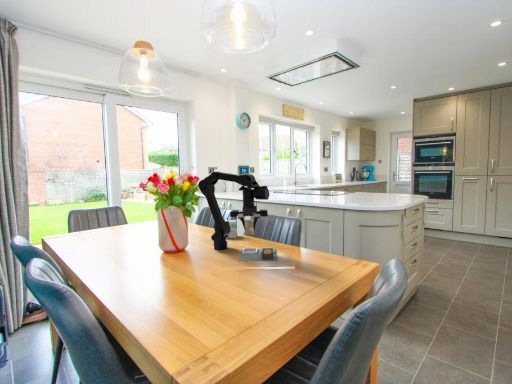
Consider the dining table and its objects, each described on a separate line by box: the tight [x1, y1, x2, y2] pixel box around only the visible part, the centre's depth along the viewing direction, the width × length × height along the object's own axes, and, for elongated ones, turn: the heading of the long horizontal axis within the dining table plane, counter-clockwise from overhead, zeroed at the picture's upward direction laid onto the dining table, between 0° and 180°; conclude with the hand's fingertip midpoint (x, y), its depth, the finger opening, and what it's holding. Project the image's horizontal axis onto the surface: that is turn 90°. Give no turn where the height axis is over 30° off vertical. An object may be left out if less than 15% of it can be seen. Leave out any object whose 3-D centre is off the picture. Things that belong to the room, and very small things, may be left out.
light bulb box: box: [224, 219, 238, 239], centre depth 168 cm, size 11×7×11 cm, turn 84°
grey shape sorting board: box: [238, 247, 278, 262], centre depth 128 cm, size 18×18×4 cm
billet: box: [244, 219, 255, 236], centre depth 132 cm, size 4×4×7 cm
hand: (249, 230), depth 132 cm, fingers closed on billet, 4 cm apart
